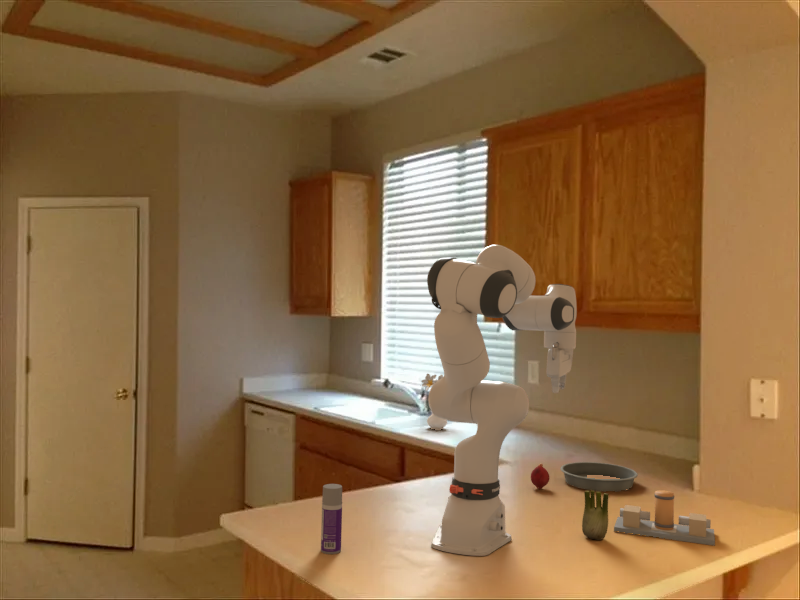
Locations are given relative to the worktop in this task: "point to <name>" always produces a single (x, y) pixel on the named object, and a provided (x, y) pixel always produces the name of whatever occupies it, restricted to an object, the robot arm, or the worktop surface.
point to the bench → (693, 532)
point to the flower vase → (432, 420)
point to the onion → (540, 476)
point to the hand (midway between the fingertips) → (558, 390)
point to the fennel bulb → (595, 516)
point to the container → (331, 519)
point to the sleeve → (664, 510)
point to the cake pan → (580, 470)
